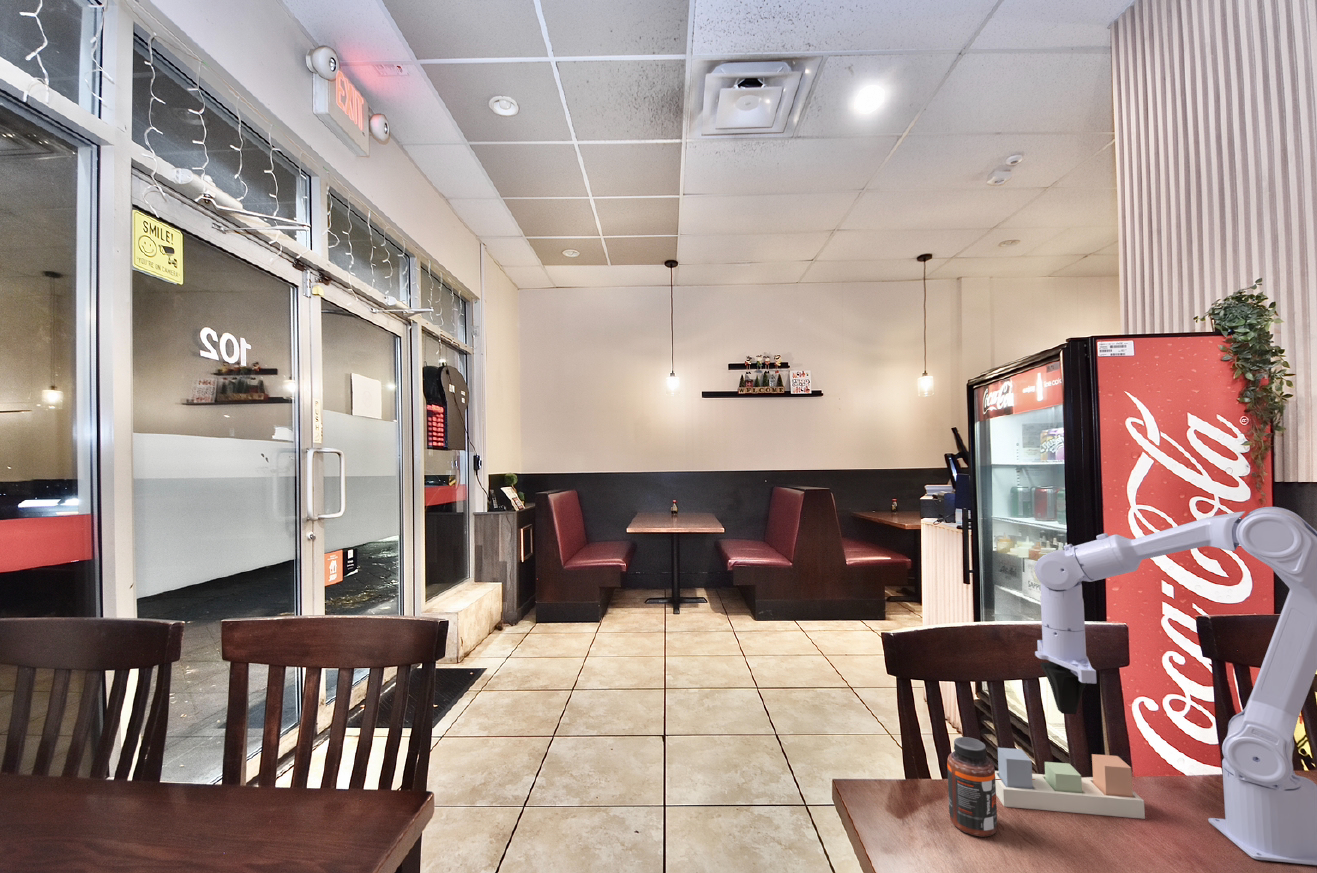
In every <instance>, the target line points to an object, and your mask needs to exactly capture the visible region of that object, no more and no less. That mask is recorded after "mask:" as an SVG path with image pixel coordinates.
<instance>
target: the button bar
mask: <svg viewBox="0 0 1317 873" xmlns="http://www.w3.org/2000/svg"><path fill="white" fill-rule="evenodd" d="M995 779H1000V778H999V770H995ZM1032 779H1035V780H1032V782H1033V789H1022V788H1010V787H1006V786H1005V785H1004V783H1003V782H1002V781H1001V780H995V783H996V798H998V800H999V802H1001V804H1002V805H1003V807H1005V808H1018V809H1020V808H1021V809H1026V810H1027V809H1028V810H1040V811H1041V810H1042V811H1052V812H1062V813H1063V812H1064V813H1072V814H1073V813H1076V814H1086V815H1087V814H1088V815H1098V816H1109V817H1120V818H1122V817H1123V818H1131V819H1144V820H1145V819H1146V816H1145V800H1144V799H1143V798H1142V797H1140V796H1139V795H1138V794H1137V793H1136V792H1135V791H1134V790H1133V798H1132V797H1120V796H1108V795H1104V794H1103V793H1102V792H1101V791H1100V790H1099V789H1098V788H1097V787H1096V786H1095V785H1094V784H1093V777H1092V778H1091V777H1082V776H1081V780H1082V793H1071V792H1059V791H1054V790H1053V788H1052V787H1051V786H1050V785H1049V784H1048V783H1047V781H1046V780H1045V774H1041V773H1032Z"/></svg>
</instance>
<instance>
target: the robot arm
mask: <svg viewBox="0 0 1317 873" xmlns="http://www.w3.org/2000/svg"><path fill="white" fill-rule="evenodd" d="M1245 513H1246V511H1245V510H1244V511H1236V512H1231V513H1224V514H1219V515H1214V516H1209V517H1205V518H1201V519H1198V520H1194V521H1191V522H1188V523H1184V524H1180V525H1177V526H1174V527H1170V528H1166V529H1164V530H1161V531H1157V532H1154V533H1150V534H1147V535H1143V536H1141V537H1137V538H1134V539H1133V538H1127V537H1126V536H1123V535H1119V534H1113V535H1112V534H1111V535H1109V534H1108V533H1107V532H1105V533H1101V534H1098V535H1096V539H1095V540H1091V541H1087V542H1084V543H1080V544H1077V545H1073V544H1072V543H1069V544H1065V545H1063V549H1057V550H1054V551H1051V552H1048V553H1047V554H1043V555H1042V556H1041V557H1040V558H1038V560H1037V561H1036V563H1035V565H1034V573H1035V576H1036V578H1037V580H1038V581H1039V583H1040V611H1041V612H1040V613H1041V615H1040V616H1041V634H1042V635H1041V637H1042V639H1037V644H1036V645H1037V650H1036V651H1035V650H1034V656H1035V657H1037V658H1038V659H1040V660H1047V661H1048V662H1041V663H1040V668H1041V669H1042V671H1043V673H1044V674H1045V676H1046V678H1047V681H1048V683H1049V684H1050V685H1049V686H1050V689H1051V692H1052V694H1053V698H1054V701H1055V706H1056V708H1057V710H1058V711H1059V712H1060V713H1061V714H1062V715H1076V714H1077V713H1078V710H1079V705H1080V700H1081V697H1082V694H1083V692H1084V689H1085V688H1086V686H1087V685H1088V684H1097V670H1096V669H1094V668H1093V667H1092V665H1091V662H1090V660H1089V656H1087V646H1086V645H1087V644H1086V625H1085V623H1086V622H1085V603H1084V598H1083V585H1082V584H1083V583H1082V582H1090V583H1091V582H1095V581H1099V580H1103V579H1108V578H1112V577H1113V578H1114V577H1117V576H1121V575H1125V574H1130V573H1134V572H1137V570H1138V569H1139V567H1140V565H1141V563H1142V561H1143V560H1147V559H1148V560H1149V559H1152V558H1153V559H1154V558H1157V557H1161V556H1166V555H1171V554H1175V553H1181V552H1185V551H1190V550H1194V549H1199V548H1203V547H1212V548H1216V549H1221V550H1225V551H1230V552H1235V551H1236V550H1237V549H1238V548H1239V546H1240V547H1241V549H1243V550H1244V551H1245V552H1247V553H1248V554H1249V555H1250V556H1252V557H1253V558H1255V559H1257V560H1258V561H1260V562H1262V563H1263V564H1265V565H1266V566H1268V567H1270V568H1271V569H1272V571H1273V572H1274V573H1275V575H1277V576H1278V577H1279V579H1281V581H1282V582H1283V583H1284V584H1285V585H1286V586H1287V587H1288V589H1289V591H1288V594H1287V596H1286V598H1285V601H1284V604H1283V607H1282V610H1281V611H1280V615H1279V616H1278V620H1277V623H1276V626H1275V628H1274V632H1273V634H1272V637H1271V639H1270V642H1269V645H1268V648H1267V650H1266V653H1265V656H1264V658H1263V661H1262V664H1261V666H1260V670H1259V671H1258V674H1257V677H1256V680H1255V683H1254V686H1253V689H1252V690H1251V693H1250V695H1249V697H1248V699H1247V702H1246V706H1245V707H1244V709H1243V710H1241V711H1240V712H1239V713H1237V714H1235V715H1233V716H1232V717H1231V719H1230V720H1229V721H1228V723H1227V724H1228V725H1227V734H1226V737H1225V739H1224V740H1223V743H1222V746H1221V750H1222V755H1223V759H1222V761H1221V764H1222V765H1221V766H1222V767H1221V768H1222V782H1223V799H1224V817H1225V818H1215V817H1209V818H1208V819H1207V820H1208V823H1209V824H1211V825H1212V826H1213V827H1214V828H1216V829H1217V830H1218V831H1219V832H1221V834H1223V835H1224V836H1225V837H1226V838H1227V839H1229V840H1230V841H1231V842H1232V843H1234V844H1235V845H1236V846H1237V847H1239V848H1240V849H1241V850H1242V851H1243V852H1245V853H1246V854H1247V855H1248V856H1250V858H1252V859H1253V860H1259V861H1270V862H1277V863H1278V862H1280V863H1282V862H1283V863H1290V864H1298V865H1299V864H1300V865H1301V864H1302V865H1310V866H1317V784H1316V783H1315V782H1314V781H1313V780H1311V779H1310V778H1308V777H1305V776H1301V775H1298V774H1296V772H1295V770H1294V764H1293V753H1294V750H1295V742H1294V741H1295V740H1294V736H1295V732H1296V728H1297V724H1298V720H1299V717H1300V715H1301V711H1302V710H1303V706H1304V704H1305V702H1306V699H1307V696H1308V694H1309V692H1310V689H1311V687H1312V684H1313V681H1314V679H1315V676H1316V673H1317V530H1316V529H1315V528H1314V527H1313V526H1311V525H1310V524H1309V523H1308V522H1307V521H1306V520H1304V519H1303V518H1302V517H1301V516H1300V515H1298V514H1297V513H1295V512H1293V511H1291V510H1289V509H1287V508H1283V507H1277V506H1265V507H1260V508H1256V509H1254V510H1252V511H1250V512H1249V513H1247V514H1246V515H1245V517H1244V518H1242V517H1243V515H1244V514H1245Z"/></svg>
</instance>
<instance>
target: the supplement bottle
mask: <svg viewBox="0 0 1317 873" xmlns="http://www.w3.org/2000/svg"><path fill="white" fill-rule="evenodd" d="M953 750H954V751H951V753H949V754H948V757H947V766H946V767H947V791H948V813H949V819H950V821H951V823H952V824H953V825H954V827H956V828H957V829H959V830H960V831H962V832H964V833H966V834H969V835H971V836H974V837H975V836H976V837H991V836H993V835H994V834H995V833H997V829H998V810H997V805H998V804H997V795H996V783H995V771H996V770H995V769H996V768H995V765H994V763H993V762H992V761H991V760H990V759H989V758H988V757H987V755H988V753H987V746H986V744H985V743H984V742H982V741H980V740H979V739H976V738H973V737H968V736H967V737H966V736H959V737H957V738H956V737H955V739H954V740H953Z"/></svg>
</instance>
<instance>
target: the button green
mask: <svg viewBox="0 0 1317 873" xmlns="http://www.w3.org/2000/svg"><path fill="white" fill-rule="evenodd" d="M1044 775H1045V780H1046V781H1047V783H1048V784H1049V785H1050V786H1051V787H1052V788H1053V790H1054V791H1059V792H1071V793H1082V780H1081V777H1082V774H1080V773H1079V772H1078V771H1077V770H1076V768H1075V767H1074V766H1072V765H1071V763H1066V762H1065V763H1064V762H1055V761H1054V762H1052V761H1044Z"/></svg>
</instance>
